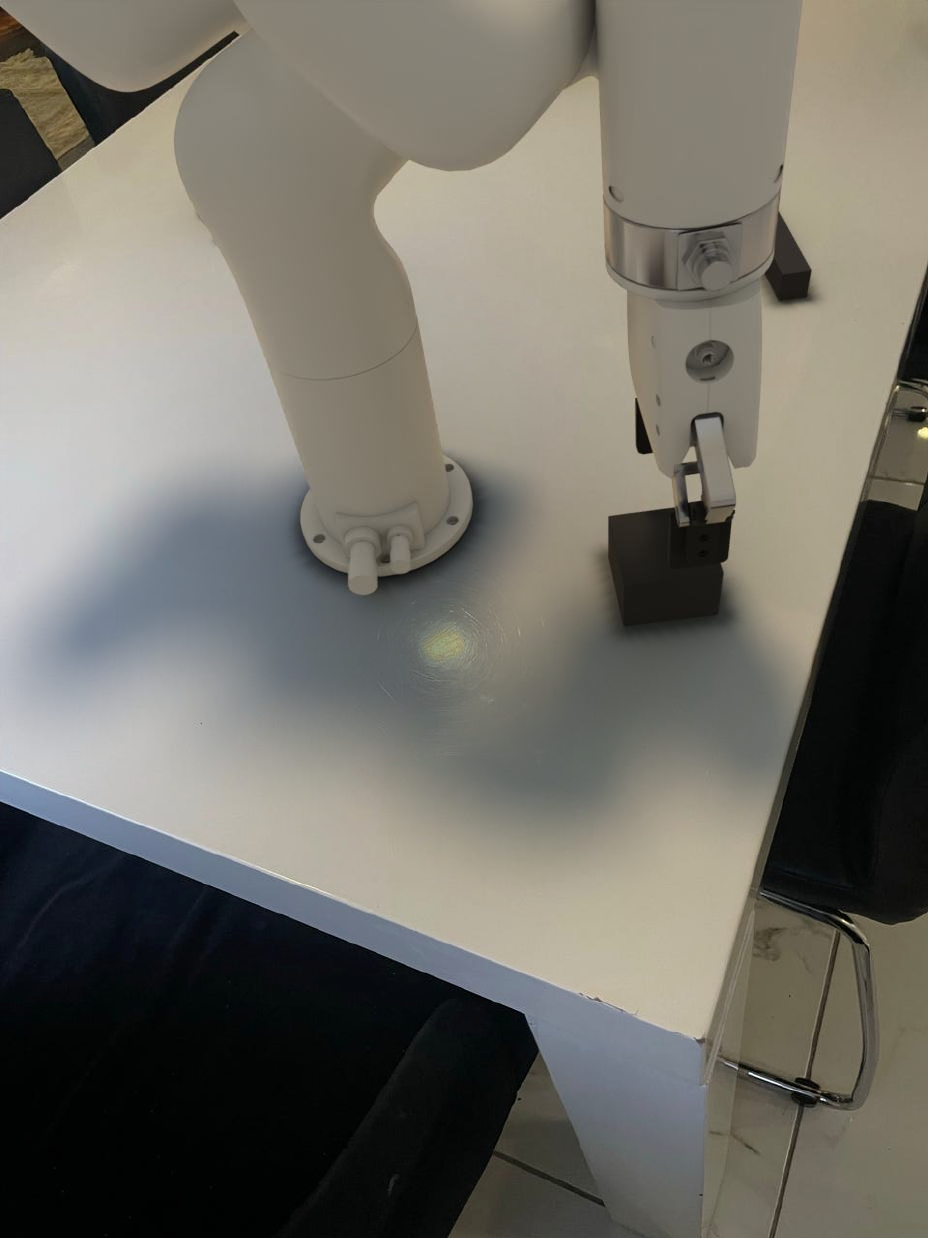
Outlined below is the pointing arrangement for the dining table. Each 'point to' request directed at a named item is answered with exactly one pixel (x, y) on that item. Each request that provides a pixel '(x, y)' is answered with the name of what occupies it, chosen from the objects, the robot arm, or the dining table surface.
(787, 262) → the charcoal u-shaped block
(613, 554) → the charcoal block
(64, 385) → the dining table surface
